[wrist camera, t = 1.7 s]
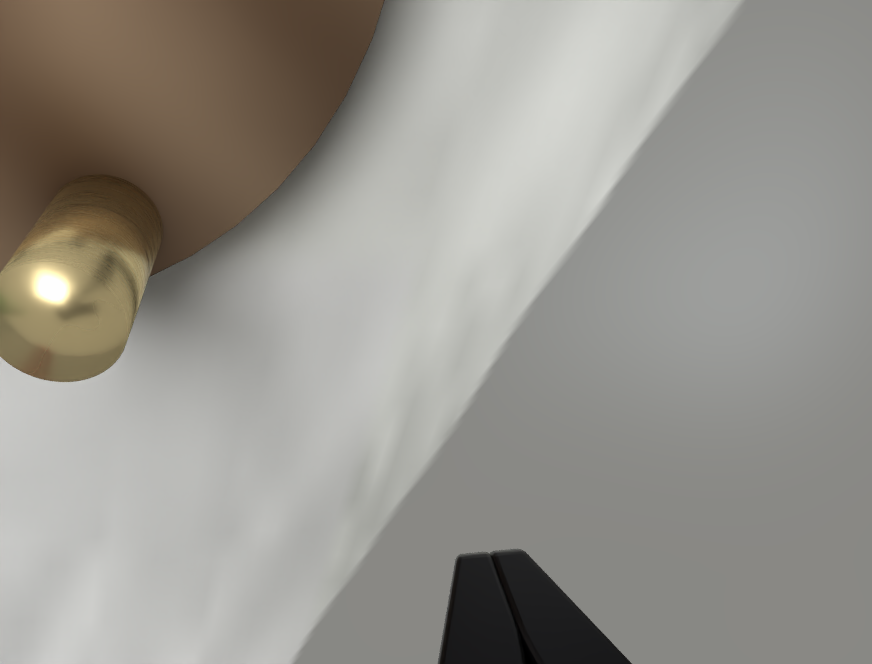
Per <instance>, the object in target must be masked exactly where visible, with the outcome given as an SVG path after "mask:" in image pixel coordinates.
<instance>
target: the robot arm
mask: <svg viewBox="0 0 872 664" xmlns="http://www.w3.org/2000/svg"><path fill="white" fill-rule="evenodd" d="M438 664H632V663H631V662H630V661H629V660H628V659H627V658H626V657H625V656H624V655H623V654H622V653H621V652H620V651H619V650H618V649H617V648H616V647H615V646H614V644H612V642H611V641H610V640H609V639H608V638H607V637H606V636H605V635H604V634H603V633H602V632H601V631H600V630H599V629H598V628H597V627H596V626H595V625H594V624H593V623H592V621H591V620H590V619H589V618H588V617H587V616H586V615H585V614H584V613H583V612H582V611H581V610H580V609H579V608H578V607H577V606H576V605H575V603H574V602H573V601H572V600H571V599H570V598H569V597H568V596H567V595H566V594H565V593H564V592H563V591H562V590H561V589H560V588H559V587H558V586H557V585H556V584H555V582H554V581H553V580H552V579H551V578H550V577H549V576H548V575H547V574H546V573H545V572H544V571H543V570H542V569H541V568H540V567H539V566H538V565H537V564H536V563H535V562H534V561H533V559H531V557H530V556H529V555H528V554H527V553H526V552H524V551H523V550H521V549H511V550H499V551H493V552H491V553H490V554H489V553H487V552H478V553H467V554H460V555H458V556H457V558H456V561H455V566H454V572H453V578H452V583H451V589H450V595H449V601H448V607H447V612H446V619H445V624H444V630H443V636H442V642H441V648H440V653H439V659H438Z"/></svg>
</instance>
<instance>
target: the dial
mask: <svg viewBox="0 0 872 664" xmlns="http://www.w3.org/2000/svg"><path fill="white" fill-rule="evenodd" d="M383 3H384V0H0V357H1V358H3V359H4V360H5V361H6V362H7V363H9V364H10V365H12V366H13V367H15V368H16V369H18V370H20V371H22V372H24V373H26V374H28V375H31V376H33V377H36V378H40V379H44V380H49V381H56V382H73V381H80V380H85V379H88V378H91V377H94V376H96V375H98V374H100V373H102V372H104V371H105V370H107V369H108V368H110V367H111V366H112V365H113V364H114V363H115V362H116V361H117V360H118V358H119V357H120V355H121V354H122V352H123V350H124V348H125V345H126V342H127V339H128V337H129V334H130V331H131V328H132V325H133V322H134V319H135V316H136V314H137V311H138V308H139V305H140V302H141V299H142V296H143V293H144V291H145V288H146V285H147V282H148V279H149V277H150V276H152V275H154V274H156V273H158V272H160V271H162V270H164V269H166V268H168V267H170V266H172V265H174V264H176V263H178V262H180V261H182V260H184V259H186V258H188V257H190V256H192V255H193V254H195V253H196V252H198V251H199V250H201V249H202V248H204V247H205V246H207V245H208V244H210V243H211V242H213V241H214V240H216V239H217V238H219V237H220V236H222V235H223V234H224V233H226V232H227V231H229V230H230V229H232V228H233V227H235V226H236V225H238V224H239V223H240V222H241V221H242V220H243V219H244V218H245V217H246V216H248V215H249V214H250V213H251V212H252V211H253V210H254V209H255V208H257V207H258V206H259V205H260V204H261V203H262V202H263V201H264V200H265V199H267V198H268V197H269V196H270V195H271V194H272V193H273V192H274V191H275V190H277V189H278V188H279V186H280V185H281V184H282V183H283V182H284V180H285V179H286V178H287V177H288V176H289V175H290V173H291V172H292V171H293V170H294V169H295V167H296V166H297V165H298V164H299V163H300V162H301V160H302V159H303V158H304V157H305V156H306V154H307V153H308V152H309V151H310V150H311V149H312V147H313V146H314V145H315V143H316V142H317V140H318V139H319V137H320V135H321V134H322V132H323V131H324V129H325V128H326V126H327V124H328V123H329V121H330V120H331V118H332V117H333V115H334V113H335V112H336V110H337V109H338V107H339V106H340V104H341V102H342V101H343V99H344V98H345V96H346V94H347V92H348V90H349V88H350V86H351V83H352V81H353V79H354V77H355V75H356V73H357V70H358V68H359V66H360V64H361V62H362V60H363V58H364V55H365V53H366V51H367V49H368V47H369V45H370V42H371V40H372V38H373V34H374V31H375V28H376V25H377V22H378V19H379V16H380V12H381V9H382V6H383Z"/></svg>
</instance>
